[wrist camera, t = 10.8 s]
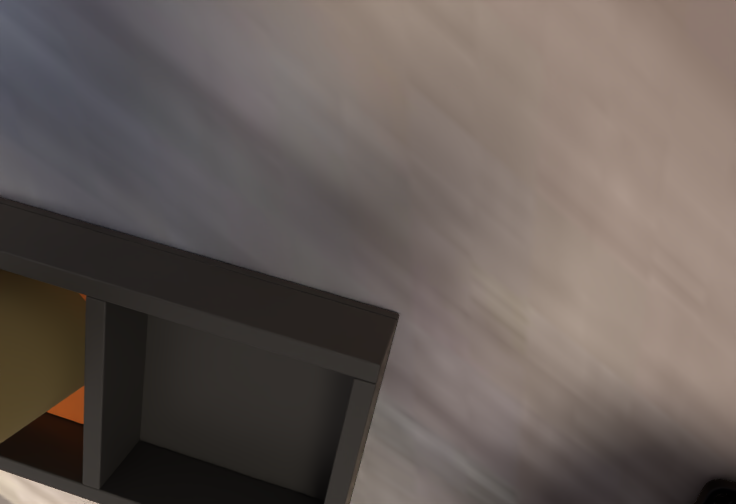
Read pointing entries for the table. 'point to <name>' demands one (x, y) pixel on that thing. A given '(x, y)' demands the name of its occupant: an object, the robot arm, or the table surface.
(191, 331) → the divided tray
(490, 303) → the table surface
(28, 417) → the olive knobbed cylinder
